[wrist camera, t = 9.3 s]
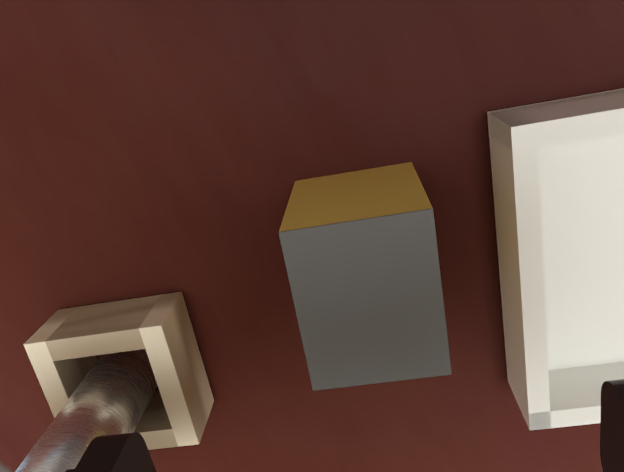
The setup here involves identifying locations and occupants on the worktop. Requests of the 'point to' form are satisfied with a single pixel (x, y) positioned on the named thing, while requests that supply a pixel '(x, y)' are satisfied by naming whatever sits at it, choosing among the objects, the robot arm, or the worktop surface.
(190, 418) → the holder
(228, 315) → the worktop surface
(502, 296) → the tray
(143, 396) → the pin
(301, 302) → the block
